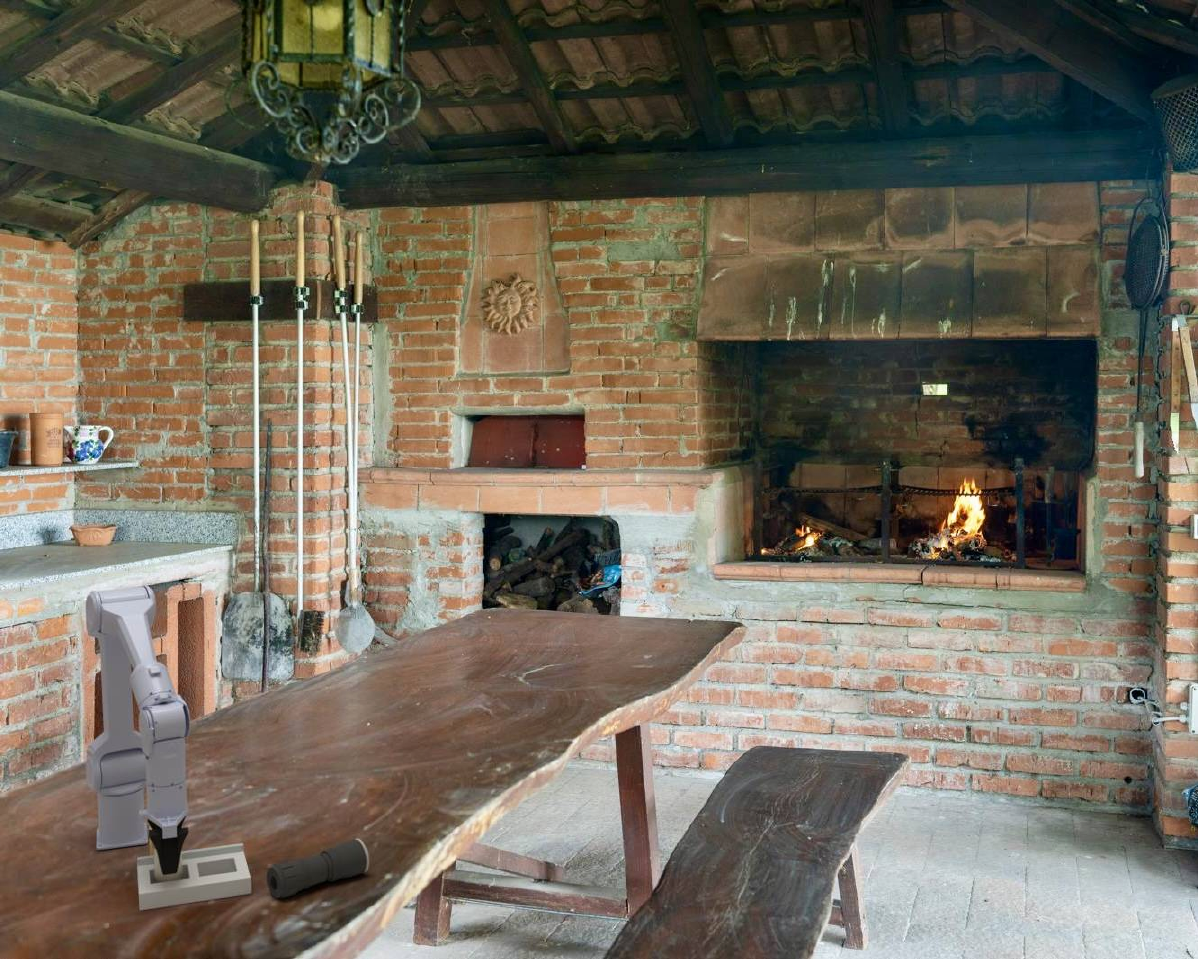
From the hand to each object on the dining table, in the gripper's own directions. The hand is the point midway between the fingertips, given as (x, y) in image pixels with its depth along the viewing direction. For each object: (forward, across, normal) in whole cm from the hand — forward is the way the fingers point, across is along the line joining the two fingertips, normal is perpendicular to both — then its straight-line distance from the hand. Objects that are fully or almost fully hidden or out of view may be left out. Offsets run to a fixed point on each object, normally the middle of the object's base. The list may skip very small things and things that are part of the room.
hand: (169, 867), depth 190 cm
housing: (+4, 0, +4) cm, 5 cm away
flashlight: (+4, +6, +22) cm, 23 cm away
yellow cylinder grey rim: (+4, -9, 0) cm, 10 cm away
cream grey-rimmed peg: (+2, 0, 0) cm, 2 cm away
